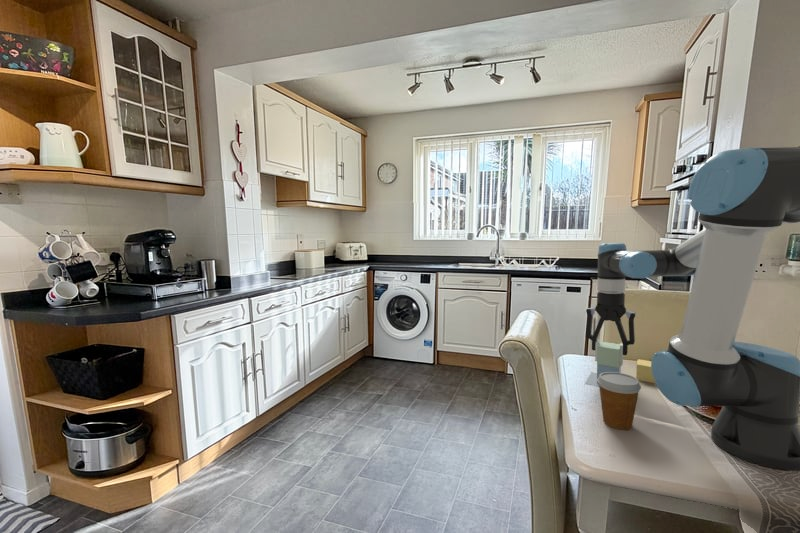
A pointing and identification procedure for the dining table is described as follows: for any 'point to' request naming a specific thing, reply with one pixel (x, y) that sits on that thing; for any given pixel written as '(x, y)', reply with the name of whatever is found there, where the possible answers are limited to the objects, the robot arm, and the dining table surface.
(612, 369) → the blue base brick
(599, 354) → the sage brick
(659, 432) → the dining table surface
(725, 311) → the robot arm
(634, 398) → the disposable coffee cup
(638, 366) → the ochre brick
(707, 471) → the dining table surface
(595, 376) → the slate board
